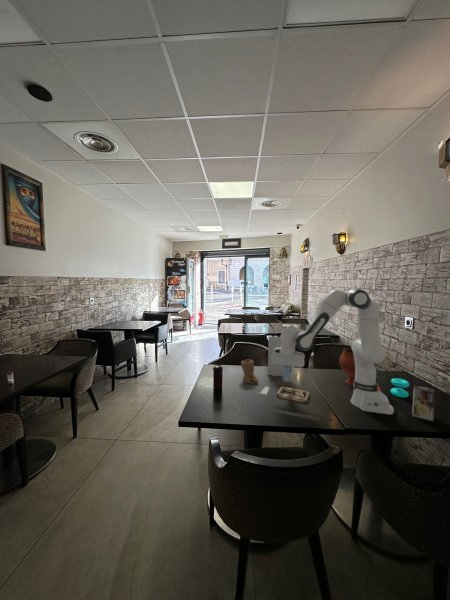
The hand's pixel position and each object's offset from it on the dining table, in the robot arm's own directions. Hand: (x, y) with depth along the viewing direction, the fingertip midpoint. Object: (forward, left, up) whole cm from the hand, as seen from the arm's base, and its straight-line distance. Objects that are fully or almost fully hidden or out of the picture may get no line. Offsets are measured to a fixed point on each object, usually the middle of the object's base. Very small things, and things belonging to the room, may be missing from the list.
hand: (287, 371), depth 162 cm
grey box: (+16, -35, -17) cm, 42 cm away
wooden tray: (-4, 0, -16) cm, 17 cm away
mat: (+12, -1, -16) cm, 20 cm away
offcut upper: (-8, 0, -15) cm, 17 cm away
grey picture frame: (-73, -13, -17) cm, 76 cm away
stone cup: (+31, -13, -17) cm, 37 cm away
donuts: (-66, -40, -17) cm, 79 cm away
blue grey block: (0, 0, -5) cm, 5 cm away
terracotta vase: (-38, -46, -17) cm, 62 cm away
